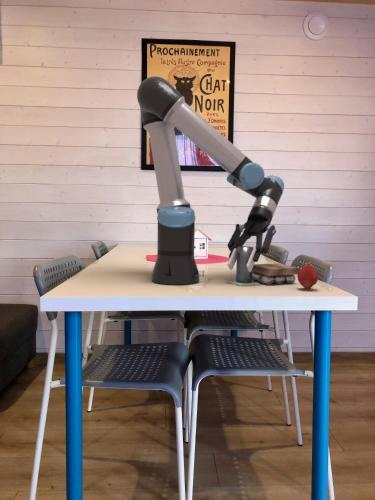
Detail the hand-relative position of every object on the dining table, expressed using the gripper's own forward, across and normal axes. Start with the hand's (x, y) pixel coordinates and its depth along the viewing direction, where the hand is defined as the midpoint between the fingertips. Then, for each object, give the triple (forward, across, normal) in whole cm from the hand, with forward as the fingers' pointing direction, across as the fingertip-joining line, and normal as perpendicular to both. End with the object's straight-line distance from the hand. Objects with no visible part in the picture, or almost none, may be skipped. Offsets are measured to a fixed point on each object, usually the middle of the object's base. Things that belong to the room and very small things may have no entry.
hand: (239, 267), depth 138 cm
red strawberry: (0, -20, -8) cm, 21 cm away
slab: (-7, -6, -10) cm, 14 cm away
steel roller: (+1, 0, -6) cm, 6 cm away
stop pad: (+1, 0, -6) cm, 6 cm away
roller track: (-5, -6, -12) cm, 15 cm away
